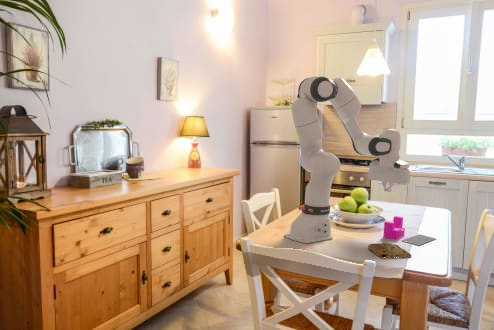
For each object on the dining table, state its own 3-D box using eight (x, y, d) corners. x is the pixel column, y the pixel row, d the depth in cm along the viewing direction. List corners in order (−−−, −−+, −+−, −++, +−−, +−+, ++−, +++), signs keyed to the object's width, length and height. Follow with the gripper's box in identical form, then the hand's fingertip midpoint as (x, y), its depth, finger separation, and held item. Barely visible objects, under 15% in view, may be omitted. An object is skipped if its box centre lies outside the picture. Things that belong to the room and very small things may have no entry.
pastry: (361, 254, 161) (361, 247, 160) (374, 243, 175) (374, 237, 175) (406, 264, 151) (407, 257, 151) (415, 252, 165) (416, 245, 165)
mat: (418, 246, 172) (419, 245, 172) (401, 241, 178) (401, 240, 178) (436, 239, 182) (436, 238, 182) (419, 234, 188) (419, 234, 188)
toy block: (397, 240, 180) (398, 224, 179) (383, 237, 183) (384, 221, 182) (407, 233, 191) (408, 218, 190) (394, 230, 195) (395, 215, 194)
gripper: (366, 160, 195) (364, 188, 197) (405, 165, 179) (403, 195, 181) (373, 160, 199) (372, 187, 201) (412, 164, 183) (410, 194, 185)
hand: (387, 191), depth 191 cm, fingers closed
